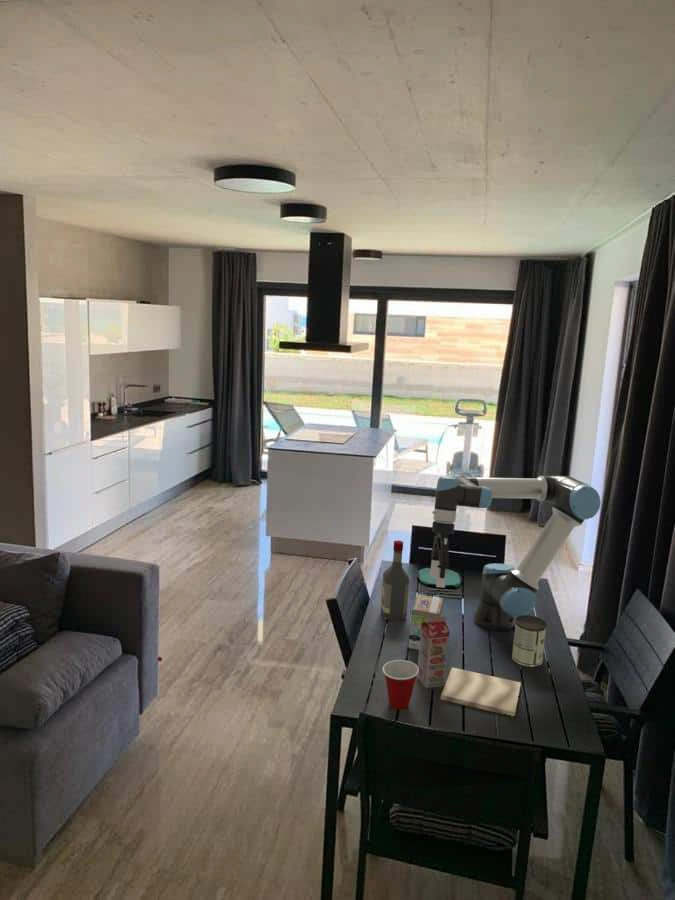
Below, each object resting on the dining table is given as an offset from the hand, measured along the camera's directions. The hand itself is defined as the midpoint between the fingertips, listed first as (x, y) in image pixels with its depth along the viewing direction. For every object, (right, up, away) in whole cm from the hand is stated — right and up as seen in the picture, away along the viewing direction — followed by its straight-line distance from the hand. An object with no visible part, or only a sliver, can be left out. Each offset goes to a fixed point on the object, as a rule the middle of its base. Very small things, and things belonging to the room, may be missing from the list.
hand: (436, 582), depth 231 cm
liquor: (-13, -19, +29) cm, 37 cm away
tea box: (-3, -23, +10) cm, 25 cm away
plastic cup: (-16, -30, -31) cm, 46 cm away
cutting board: (+11, -30, -23) cm, 39 cm away
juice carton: (-5, -28, -17) cm, 33 cm away
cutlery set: (+11, -14, +63) cm, 66 cm away
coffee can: (+31, -27, 0) cm, 41 cm away
